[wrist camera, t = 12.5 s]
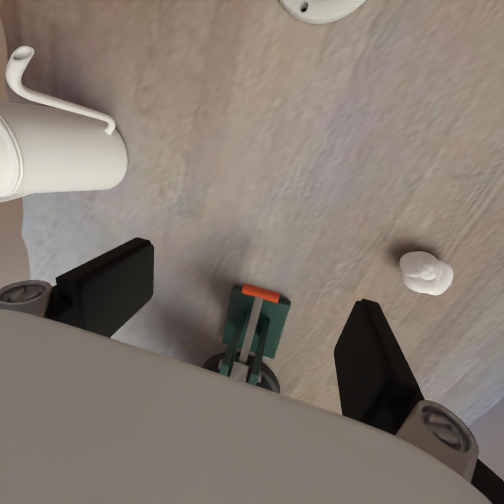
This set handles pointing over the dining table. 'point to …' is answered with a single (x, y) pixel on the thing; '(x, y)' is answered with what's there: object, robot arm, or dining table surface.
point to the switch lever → (251, 329)
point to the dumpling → (425, 273)
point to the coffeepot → (54, 142)
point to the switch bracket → (264, 335)
